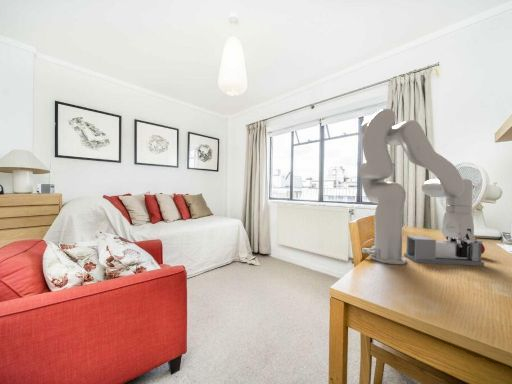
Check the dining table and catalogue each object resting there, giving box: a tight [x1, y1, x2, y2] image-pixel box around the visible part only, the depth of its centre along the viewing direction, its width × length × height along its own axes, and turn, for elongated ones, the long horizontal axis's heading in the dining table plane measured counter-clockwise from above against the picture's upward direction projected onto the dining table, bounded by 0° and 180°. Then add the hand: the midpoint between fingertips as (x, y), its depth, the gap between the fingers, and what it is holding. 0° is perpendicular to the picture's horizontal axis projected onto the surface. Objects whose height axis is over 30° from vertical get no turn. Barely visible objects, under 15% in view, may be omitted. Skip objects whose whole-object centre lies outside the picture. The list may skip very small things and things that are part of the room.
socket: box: [462, 239, 483, 262], centre depth 85 cm, size 3×7×8 cm, turn 173°
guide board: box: [403, 235, 485, 266], centre depth 86 cm, size 24×8×9 cm, turn 83°
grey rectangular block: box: [435, 240, 470, 259], centre depth 86 cm, size 16×4×6 cm, turn 83°
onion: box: [473, 237, 486, 255], centre depth 92 cm, size 6×6×8 cm
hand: (457, 255), depth 85 cm, fingers closed on grey rectangular block, 3 cm apart
